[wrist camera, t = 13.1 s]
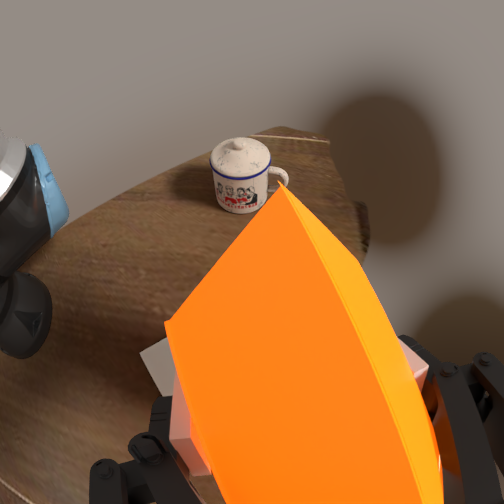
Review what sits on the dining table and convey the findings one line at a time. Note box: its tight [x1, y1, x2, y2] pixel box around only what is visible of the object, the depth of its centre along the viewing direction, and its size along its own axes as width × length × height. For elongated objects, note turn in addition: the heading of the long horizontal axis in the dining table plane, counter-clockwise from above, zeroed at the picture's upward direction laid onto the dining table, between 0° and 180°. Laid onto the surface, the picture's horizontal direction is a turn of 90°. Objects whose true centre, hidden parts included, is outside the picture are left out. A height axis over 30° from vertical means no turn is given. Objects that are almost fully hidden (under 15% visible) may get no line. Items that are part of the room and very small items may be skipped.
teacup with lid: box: [210, 137, 288, 214], centre depth 43 cm, size 12×9×12 cm
